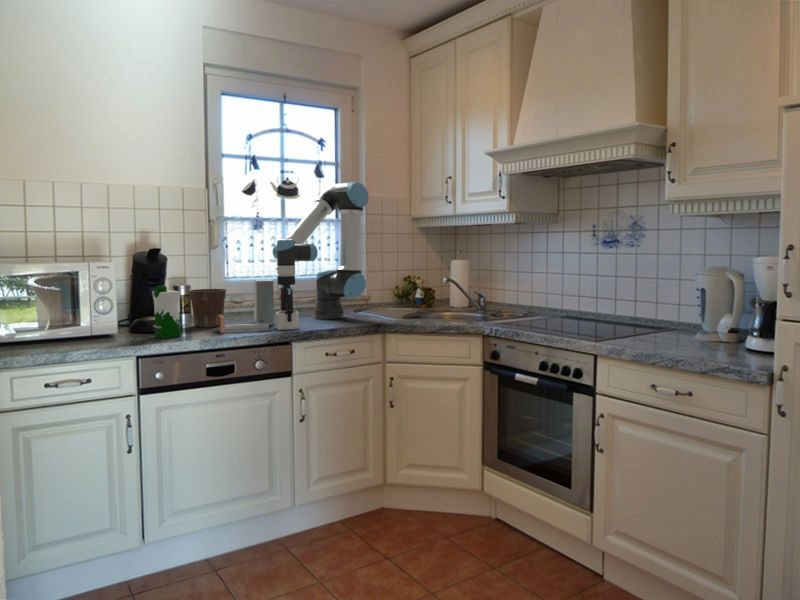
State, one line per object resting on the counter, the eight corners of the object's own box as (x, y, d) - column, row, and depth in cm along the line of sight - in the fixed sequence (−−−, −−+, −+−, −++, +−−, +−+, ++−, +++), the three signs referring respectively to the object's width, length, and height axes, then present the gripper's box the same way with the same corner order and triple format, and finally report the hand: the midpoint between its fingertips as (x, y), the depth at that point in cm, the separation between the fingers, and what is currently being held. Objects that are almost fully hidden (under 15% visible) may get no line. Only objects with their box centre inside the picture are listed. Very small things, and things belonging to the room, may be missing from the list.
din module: (296, 326, 267) (295, 309, 267) (299, 328, 262) (298, 311, 261) (275, 328, 264) (275, 310, 263) (278, 329, 259) (277, 312, 258)
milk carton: (151, 337, 239) (149, 286, 237) (173, 334, 246) (171, 284, 244) (162, 339, 233) (160, 287, 231) (184, 336, 240) (182, 285, 238)
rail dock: (266, 327, 266) (266, 312, 265) (270, 331, 255) (270, 315, 254) (218, 329, 259) (218, 314, 258) (221, 333, 247) (220, 317, 247)
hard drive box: (274, 325, 272) (273, 280, 270) (256, 326, 270) (255, 281, 268) (270, 321, 287) (269, 278, 285) (254, 321, 284) (253, 279, 282)
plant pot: (188, 324, 275) (187, 288, 274) (226, 322, 281) (224, 287, 279) (190, 329, 260) (189, 291, 258) (229, 327, 266) (228, 290, 264)
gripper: (273, 274, 270) (273, 325, 272) (282, 276, 249) (282, 331, 251) (290, 274, 272) (290, 324, 274) (300, 276, 252) (300, 330, 254)
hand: (287, 327), depth 263 cm, fingers open, 9 cm apart
